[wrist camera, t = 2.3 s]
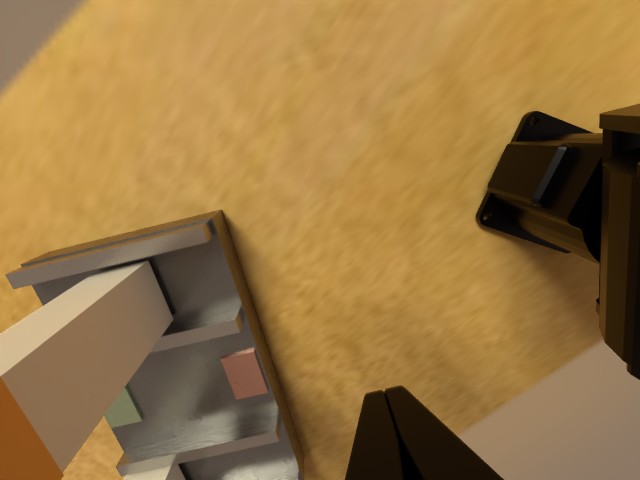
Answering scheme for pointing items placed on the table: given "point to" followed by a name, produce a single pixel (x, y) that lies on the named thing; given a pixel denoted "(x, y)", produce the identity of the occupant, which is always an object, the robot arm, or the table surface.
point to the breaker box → (189, 357)
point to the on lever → (158, 474)
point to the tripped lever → (73, 366)
